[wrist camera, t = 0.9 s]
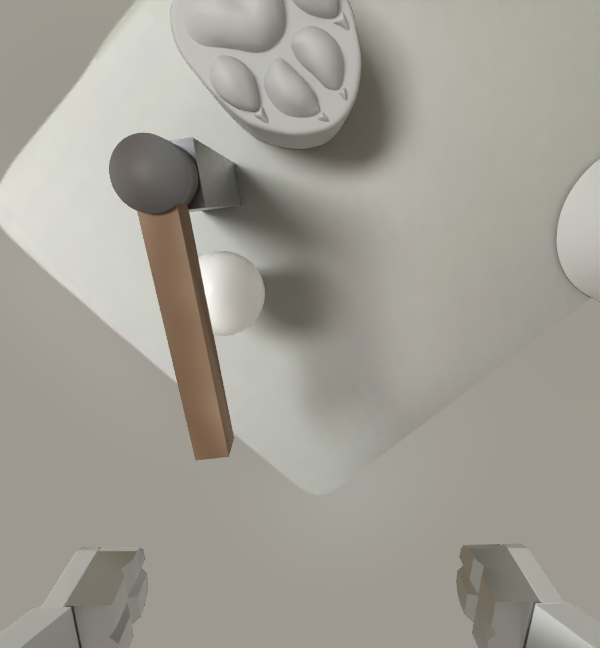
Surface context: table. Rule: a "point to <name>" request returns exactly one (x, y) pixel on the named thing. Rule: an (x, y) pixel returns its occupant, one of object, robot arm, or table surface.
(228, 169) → the post
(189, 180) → the hammer
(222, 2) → the lumpy-topped squat cylinder
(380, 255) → the table surface
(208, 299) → the lightbulb
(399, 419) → the table surface
